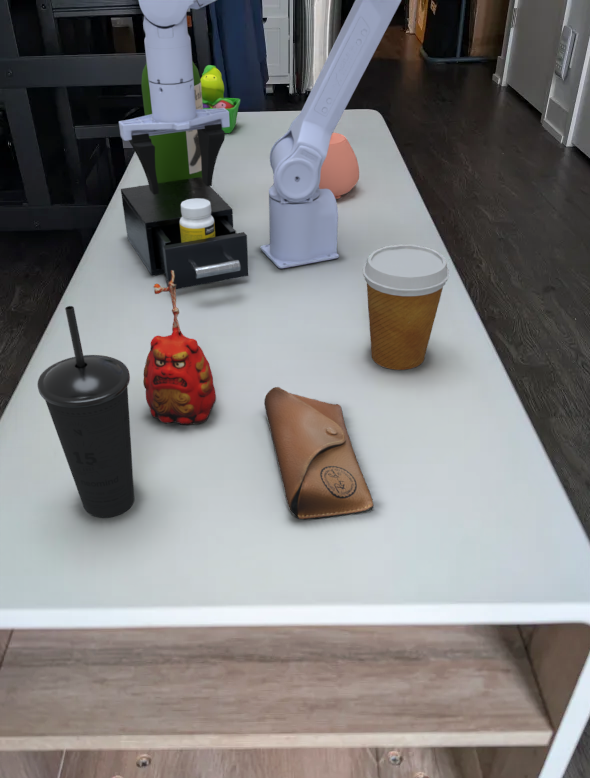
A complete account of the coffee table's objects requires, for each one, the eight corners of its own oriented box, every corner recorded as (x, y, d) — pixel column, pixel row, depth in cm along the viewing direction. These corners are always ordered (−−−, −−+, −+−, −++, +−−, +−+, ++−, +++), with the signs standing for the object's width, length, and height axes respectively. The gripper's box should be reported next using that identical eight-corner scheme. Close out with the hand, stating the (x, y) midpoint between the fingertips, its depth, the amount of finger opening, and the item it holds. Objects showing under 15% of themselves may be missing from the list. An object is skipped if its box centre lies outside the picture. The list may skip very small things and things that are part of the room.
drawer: (260, 289, 107) (259, 248, 104) (179, 305, 104) (175, 263, 101) (217, 240, 120) (215, 201, 116) (144, 253, 117) (139, 213, 113)
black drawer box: (235, 260, 117) (232, 208, 112) (151, 275, 113) (145, 223, 108) (204, 225, 127) (201, 176, 122) (127, 238, 124) (120, 188, 119)
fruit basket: (181, 134, 164) (175, 73, 157) (191, 121, 171) (186, 62, 163) (235, 135, 163) (232, 74, 155) (243, 123, 169) (241, 63, 162)
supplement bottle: (212, 272, 109) (207, 210, 104) (179, 269, 110) (173, 208, 104) (220, 257, 113) (217, 197, 107) (188, 255, 114) (183, 195, 108)
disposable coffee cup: (444, 343, 97) (457, 248, 89) (429, 383, 91) (442, 284, 83) (368, 332, 100) (374, 238, 92) (348, 370, 93) (353, 272, 85)
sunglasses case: (381, 507, 74) (347, 461, 70) (316, 543, 75) (279, 500, 71) (339, 401, 87) (309, 358, 83) (285, 434, 89) (253, 393, 85)
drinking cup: (72, 479, 79) (27, 289, 65) (149, 473, 79) (120, 284, 66) (63, 530, 73) (12, 334, 60) (147, 525, 73) (115, 328, 60)
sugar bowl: (355, 205, 132) (358, 140, 126) (272, 202, 134) (271, 138, 127) (361, 180, 141) (364, 118, 135) (283, 177, 143) (282, 116, 136)
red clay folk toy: (141, 426, 85) (121, 296, 75) (157, 391, 90) (140, 264, 81) (211, 431, 84) (200, 299, 74) (223, 395, 89) (214, 268, 80)
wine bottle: (197, 223, 128) (177, -18, 106) (147, 217, 130) (117, -20, 109) (218, 203, 134) (203, -28, 113) (169, 198, 136) (146, -30, 115)
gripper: (122, 92, 97) (137, 205, 106) (235, 79, 101) (240, 189, 109) (109, 79, 102) (124, 188, 111) (217, 67, 106) (223, 173, 114)
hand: (181, 187), depth 110 cm, fingers open, 7 cm apart
